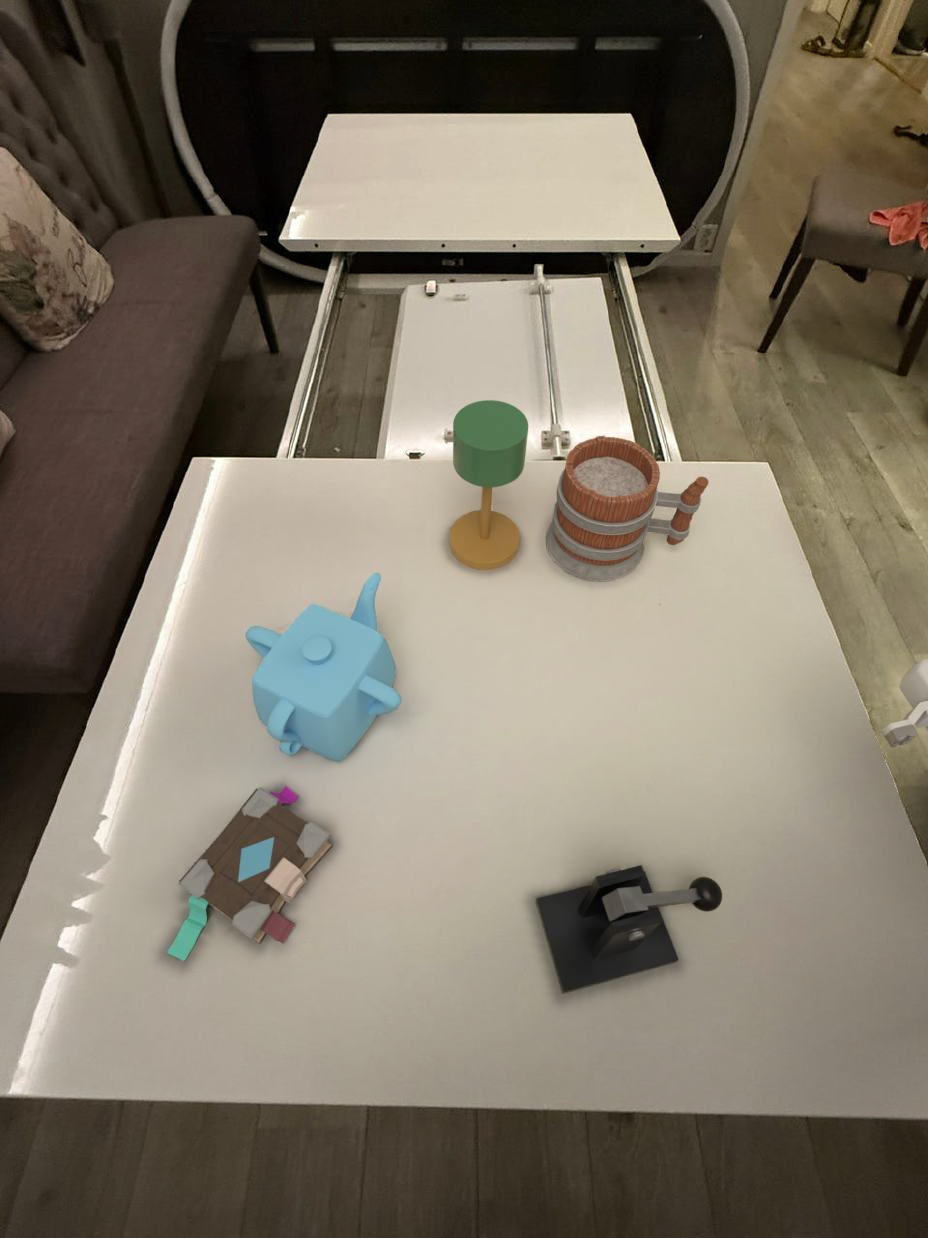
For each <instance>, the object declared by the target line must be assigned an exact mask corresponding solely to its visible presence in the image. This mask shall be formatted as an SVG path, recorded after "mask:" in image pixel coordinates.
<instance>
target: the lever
mask: <svg viewBox="0 0 928 1238" xmlns="http://www.w3.org/2000/svg"><path fill="white" fill-rule="evenodd" d="M602 901H603V903H604V906H605V909H606V912H607V915H608V918H609V921H610V922H614V921H618V920H622V919H626V918H630V917H633V916H637V915H640V914H642V913H644V912H646V911H648V908H656V907H659V908H662V907H671V906H678V905H687V904H692V906H693V907H694V908H696V909H697V910H699V911H702V912H714V911H715V910H717V909H718V908H719V907H720V906H721V904H722V901H723V891H722V888H721V885H720V884H719V883H718V882H717V881H716V880H714V879H713V878H711V877H708V876H698V877H696V878H695V879H693V880H692V881H691V883H690V884H689V886H688V888H684V889H675V890H665V891H657V892H653V893H647V894H642V891H641V888H640V886H634V887H624V888H617V889H615V890H614V891H612V892H610V893H608V894H607V895H605V896H603V897H602Z"/></svg>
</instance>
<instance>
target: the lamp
mask: <svg viewBox="0 0 928 1238" xmlns="http://www.w3.org/2000/svg"><path fill="white" fill-rule="evenodd" d="M528 435H529V421H528V419H527V417H526V415H525V414H524V413H523V411H521V409H519V408H518V407H516V406H515V405H513V404H511V403H508V402H505V401H501V400H494V399H493V400H492V399H487V400H486V399H485V400H479V401H474V402H471V403H469V404H467V405H465V406H463V407H462V408H460V409H459V411H458V412H457V413H456V414H455V416H454V418H453V422H452V465H453V468H454V471H455V473H456V474H457V475H458V476H459V477H460V478H461V479H462V480H463V481H465V482H466V483H469V484H470V485H473V486H477V487H481V497H480V498H481V501H480V502H481V503H480V510H473V511H470V512H466V513H464V514H463V515H461V516H460V517H458V518H457V519H456V520H455V521H454V522H453V524H452V525H451V528H450V530H449V534H448V535H449V549H450V551H451V553H452V555H453V556H454V558H455V559H456V560H457V561H458V562H459V563H461V564H462V565H464V566H465V567H467V568H471V569H474V570H479V571H491V570H497V569H501V568H503V567H505V566H506V565H508V564H509V563H511V562H512V561H513V560H514V559H515V557H517V554H518V552H519V549H520V543H521V534H520V531H519V530H520V529H519V527H518V526H517V525H516V522H514V521H513V520H512V519H511V518H510V517H508V516H507V515H505V514H503V513H501V512H499V511H494V510H492V505H493V504H492V503H493V491H494V489H493V488H499V487H502V486H503V487H504V486H506V485H509V484H511V483H512V482H514V481H516V480H517V479H518V478H519V477H520V476H521V475H522V473H523V471H524V469H525V462H526V453H527V444H528Z"/></svg>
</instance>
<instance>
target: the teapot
mask: <svg viewBox="0 0 928 1238" xmlns="http://www.w3.org/2000/svg"><path fill="white" fill-rule="evenodd" d="M381 581H382V575H381V573H379V572H375V573H373V574H371V575H370V576H369V577H368V578H367V580H365V582H364V584H363V586H362V589H361V591H360V594H359V597H358V599H357V602H356V604H355V607H354V610H353V613H352V615H351V617H348V616H345V615H343V614H341V613H338V612H336V611H334V610H331V609H329V608H328V607H327V608H326V607H324V606H322V605H319V604H316V603H312V604H309V606H307V607H306V608H305V609H304V610H303V611H302V612H301V613H300V614H299V615H298V616H297V617H296V619H294V621H293V622H292V623H291V624H290V625H289V626H288V627H287V629H286V630H285V631H284V632H283V634H280V633H278V632H277V631H274V630H271V629H269V628H267V627H263V626H259V625H252V626H250V627H249V628H247V630H246V631H245V639H246V641H247V642H248V644H249V645H250V646H251V648H253V649H254V651H255V652H257V654H258V655H259V656H261V657H262V658H263V659H262V661H261V663H260V664H259V665H258V667H257V669H256V670H255V672H254V674H253V676H252V680H251V687H252V689H251V690H252V697H253V704H254V707H255V711H256V714H257V717H258V719H259V721H260V722H261V723H262V724H264V725H265V726H266V729H267V732H268V734H269V735H270V736H271V737H272V738H273V739H275V740H276V741H278V742H279V741H280V743H279V746H278V747H279V751H281V753H282V754H284V755H286V756H294V755H295V754H297V753H298V752H299V751H300V750H301V748H302V747H303V748H305V749H307V750H308V751H310V752H312V753H314V754H316V755H319V756H321V757H324V758H325V759H328V760H331V761H333V762H338V763H339V762H341V761H343V760H344V759H345V758H346V757H347V756H348V755H349V754H350V752H351V751H352V750H353V749H354V748H355V747H356V745H357V744H358V743H359V741H360V740H361V739H362V737H363V736H364V735H365V734H366V732H367V731H368V730H369V728H370V727H371V725H372V724H373V723H374V721H375V719H376V718H377V716H379V715H388V714H391V713H393V712H395V711H396V710H398V708H399V707H400V705H401V703H402V698H401V695H400V693H399V692H398V691H397V690H396V689H394V688H393V686H394V683H395V680H396V676H397V668H396V662H395V658H394V655H393V652H392V650H391V648H390V645H389V643H388V641H387V640H386V637H385V635H384V634H382V633H381V632H379V631H378V628H379V627H378V619H377V618H378V617H377V612H376V605H375V603H376V595H377V591H378V588H379V587H380V584H381Z"/></svg>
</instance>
